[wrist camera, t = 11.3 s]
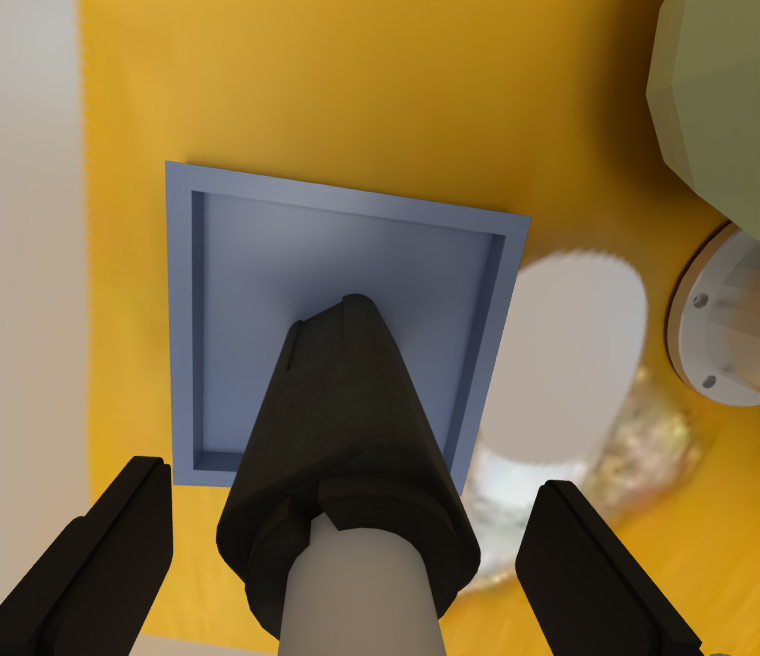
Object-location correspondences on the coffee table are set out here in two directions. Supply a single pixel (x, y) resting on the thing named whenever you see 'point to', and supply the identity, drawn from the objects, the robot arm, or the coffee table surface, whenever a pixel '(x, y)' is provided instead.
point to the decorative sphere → (710, 101)
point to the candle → (346, 499)
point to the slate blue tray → (324, 300)
